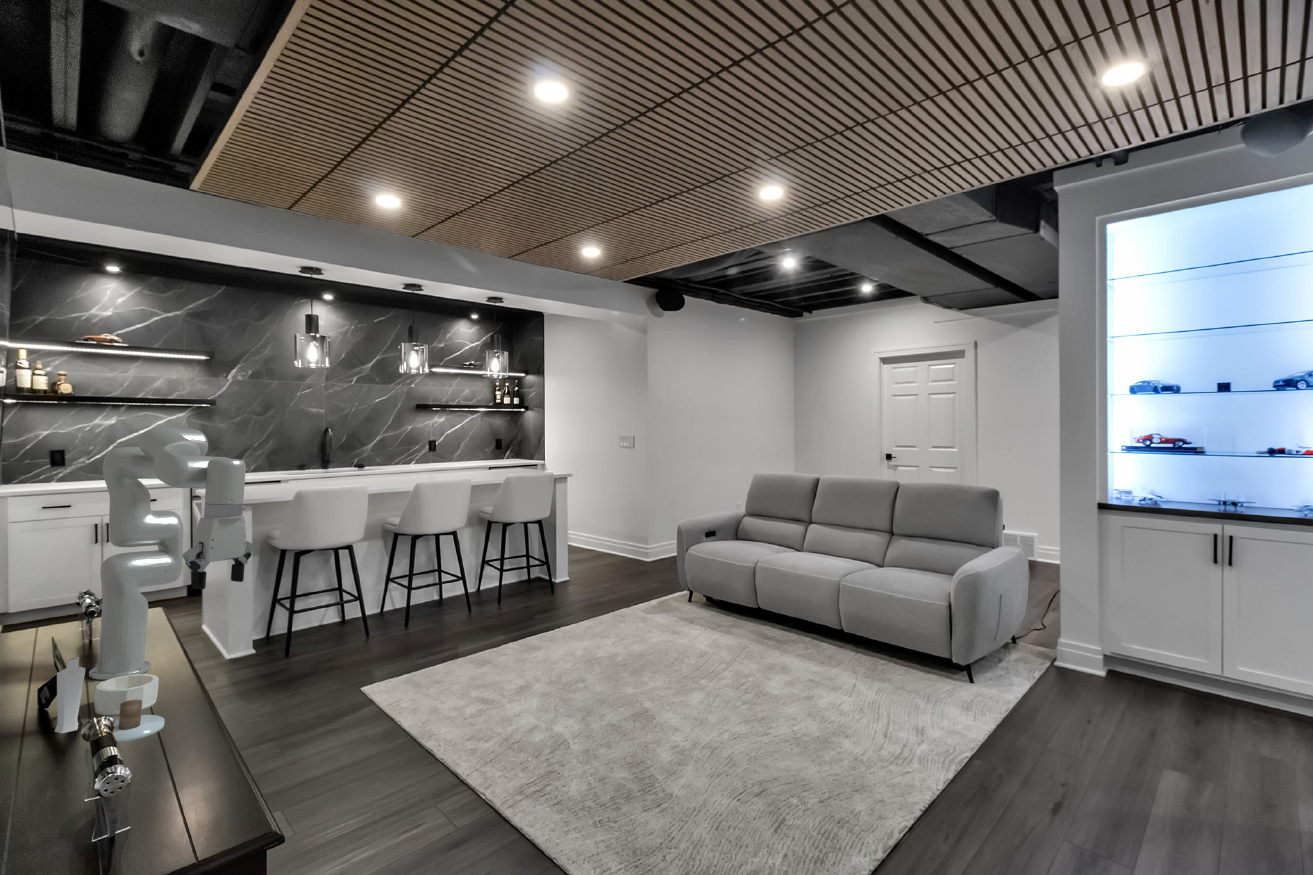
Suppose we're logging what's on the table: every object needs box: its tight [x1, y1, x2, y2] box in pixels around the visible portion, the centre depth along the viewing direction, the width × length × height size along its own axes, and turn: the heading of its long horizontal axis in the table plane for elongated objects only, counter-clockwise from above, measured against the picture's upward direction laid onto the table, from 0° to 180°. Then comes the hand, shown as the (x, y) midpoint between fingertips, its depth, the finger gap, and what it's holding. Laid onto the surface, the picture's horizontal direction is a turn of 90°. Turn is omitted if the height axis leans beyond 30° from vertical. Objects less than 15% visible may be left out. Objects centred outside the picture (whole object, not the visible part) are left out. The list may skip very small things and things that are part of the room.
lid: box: [113, 700, 165, 744], centre depth 136 cm, size 12×12×6 cm
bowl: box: [93, 673, 160, 717], centre depth 148 cm, size 11×11×6 cm
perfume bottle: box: [54, 656, 86, 734], centre depth 136 cm, size 5×4×15 cm
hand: (218, 584), depth 147 cm, fingers open, 9 cm apart
